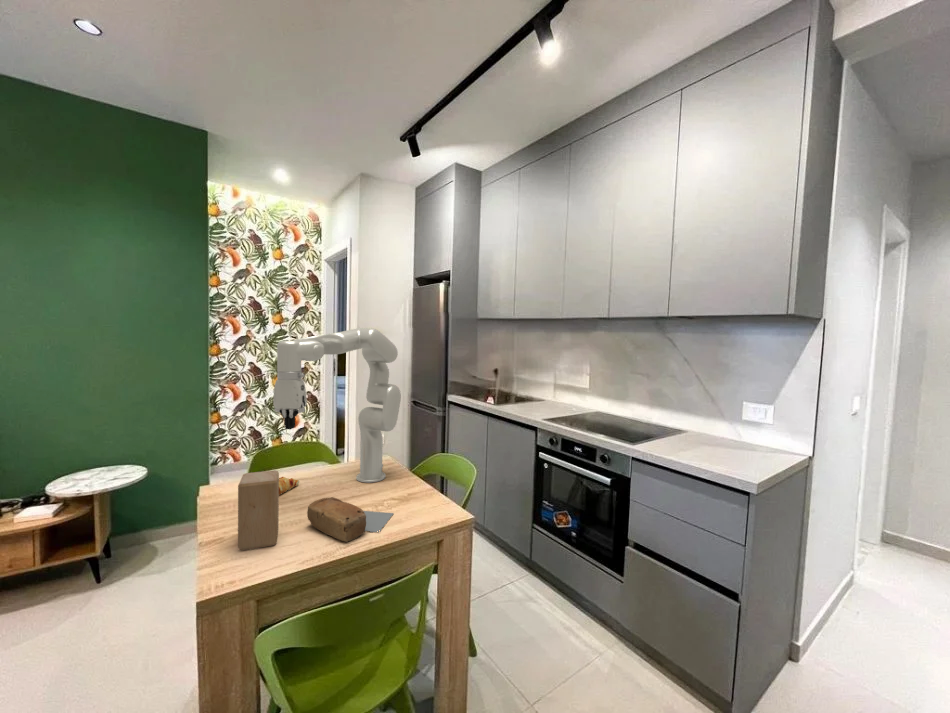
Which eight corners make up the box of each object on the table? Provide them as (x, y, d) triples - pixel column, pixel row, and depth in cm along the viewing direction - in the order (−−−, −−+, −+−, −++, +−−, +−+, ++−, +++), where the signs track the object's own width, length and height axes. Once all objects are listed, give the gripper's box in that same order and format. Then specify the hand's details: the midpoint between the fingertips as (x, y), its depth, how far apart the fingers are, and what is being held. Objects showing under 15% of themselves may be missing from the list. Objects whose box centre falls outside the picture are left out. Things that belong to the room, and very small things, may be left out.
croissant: (294, 492, 166) (290, 473, 168) (307, 485, 161) (302, 466, 163) (241, 507, 148) (237, 486, 150) (253, 501, 143) (249, 479, 145)
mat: (339, 509, 142) (339, 508, 142) (393, 514, 140) (393, 513, 140) (320, 527, 128) (320, 526, 128) (379, 533, 126) (379, 532, 126)
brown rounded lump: (304, 525, 129) (344, 546, 118) (304, 502, 128) (344, 522, 117) (332, 512, 138) (372, 531, 127) (333, 492, 137) (372, 509, 126)
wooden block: (237, 552, 112) (237, 483, 111) (242, 536, 121) (242, 472, 121) (276, 546, 116) (277, 479, 115) (278, 530, 125) (279, 469, 125)
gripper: (315, 375, 140) (315, 426, 141) (275, 374, 141) (276, 425, 142) (304, 378, 132) (304, 432, 133) (262, 376, 134) (263, 430, 135)
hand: (289, 428), depth 138 cm, fingers closed
